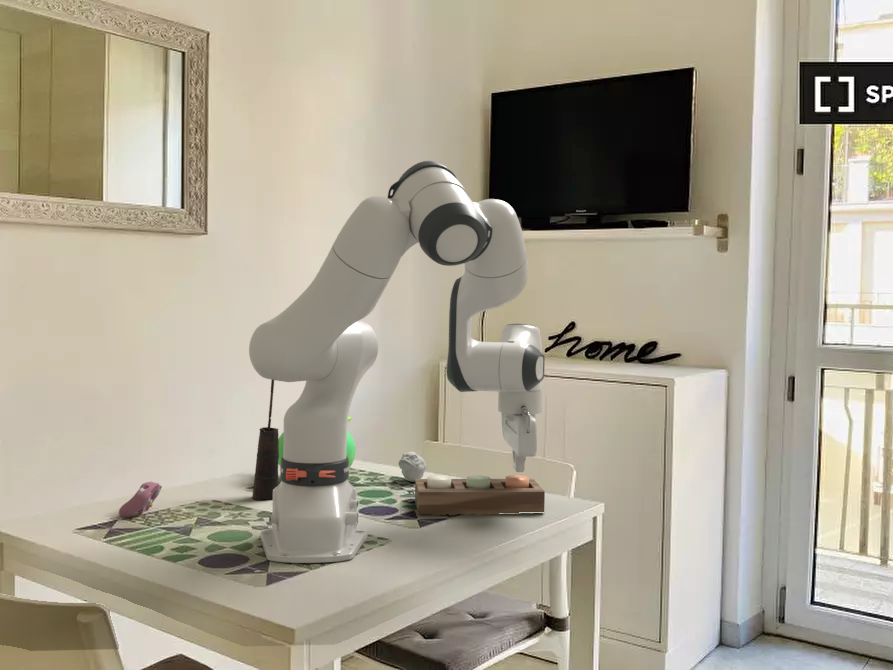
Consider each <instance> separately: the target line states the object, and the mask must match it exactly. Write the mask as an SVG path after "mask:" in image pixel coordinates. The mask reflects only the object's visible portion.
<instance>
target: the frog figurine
mask: <svg viewBox="0 0 893 670" xmlns="http://www.w3.org/2000/svg"><path fill="white" fill-rule="evenodd" d="M398 466H399V469H400V470H401V474H402V476H403V478H404V479H405V480H406V481H409V482H412V483H415V479H423V477H424V473H425V471H426V469H427V464H426V461H425V460H424V458H423V457H421V456H420V455H418V454H417V453H416V451H415V452H414V451H408V452H403V453H402V457H401V459H399V460H398Z"/></svg>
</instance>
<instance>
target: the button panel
mask: <svg viewBox="0 0 893 670" xmlns="http://www.w3.org/2000/svg"><path fill="white" fill-rule="evenodd" d="M414 484H415V485H414V503H415V507H416V510H417V515H418V516H423V515H422V514H432V515H431V516H434V515H435V514H436V515H435V516H437V515H439V516H441V515H444V516H445V515H446V514H449V515H450V516H451V514H453V516H455V514H476V515H500V514H499V513H519V512H544V513H545V503H546V502H545V500H546V499H545V493H546V491H545V490H544V489H543V488H542V487H541V486H540V485H539V483H538V482H537V481H536V479H534V478H529V488H505V478H490V488H474V489H466V485H467V478H451V489H427V478H421V479H415V482H414ZM440 514H441V515H440ZM449 515H448V516H449ZM446 516H447V515H446Z"/></svg>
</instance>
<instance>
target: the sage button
mask: <svg viewBox="0 0 893 670" xmlns="http://www.w3.org/2000/svg"><path fill="white" fill-rule="evenodd" d="M466 479H467V485H466V489H474V488H490V479H491V477H490V476H487V475H477V474H476V475H468V476H467V477H466Z"/></svg>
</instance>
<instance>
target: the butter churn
mask: <svg viewBox="0 0 893 670" xmlns="http://www.w3.org/2000/svg"><path fill="white" fill-rule="evenodd" d="M270 380H271V379H270ZM274 387H275V380H271V382H270V399H269V407H268V408H269V410H268V422H267V427H266V426H264V427H261V428H259V436H258V441H257V442H258V443H257V453H256V463H255V468H254V469H255V472H254V481H253V487H252V488H253V489H252V499H254V500H257V501H262V500H273V489H275V487H277V486H278V485H279V464H278V459H279V437H280V436H279V428H276V427H271V426H272V425H271V423H272V418H271V417H272V411H273V400H274V399H273V398H274V397H273V396H274V389H275V388H274Z"/></svg>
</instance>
